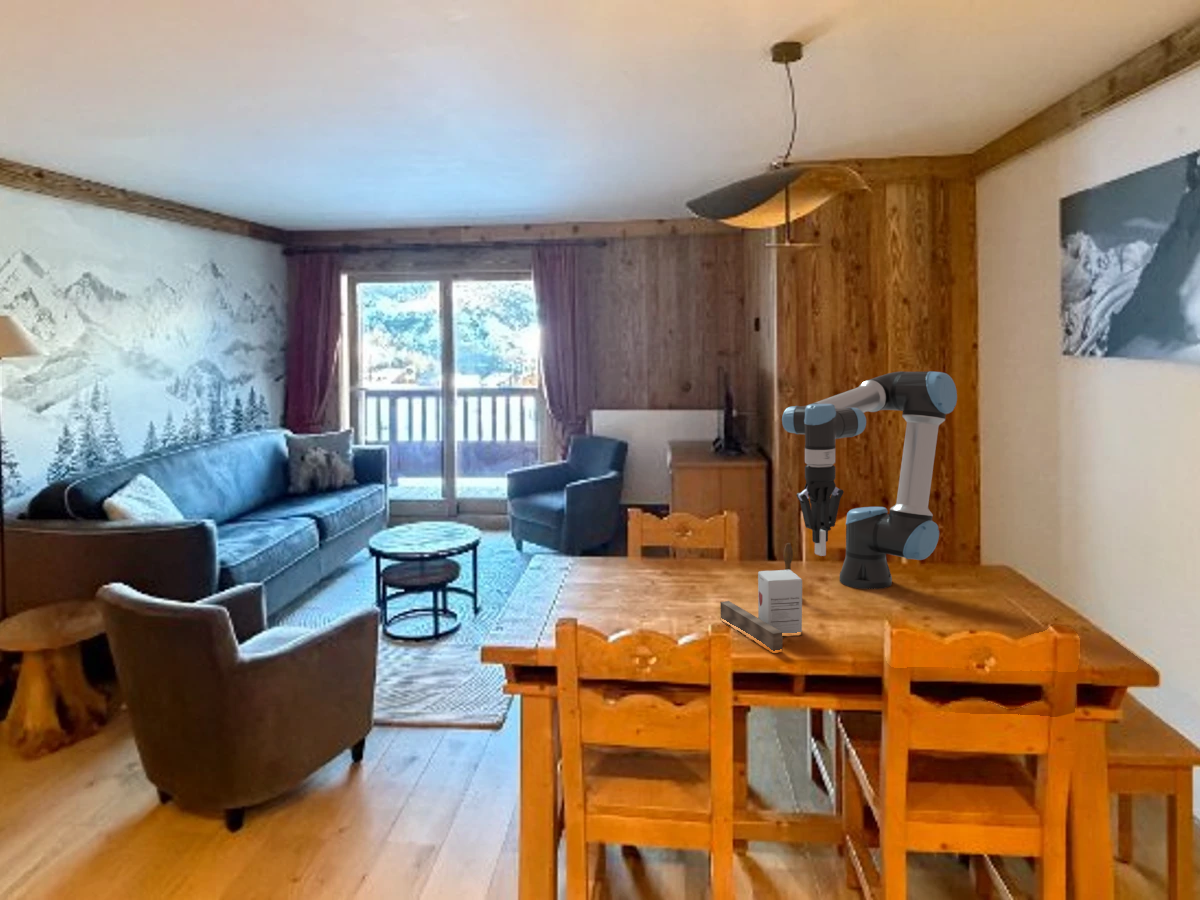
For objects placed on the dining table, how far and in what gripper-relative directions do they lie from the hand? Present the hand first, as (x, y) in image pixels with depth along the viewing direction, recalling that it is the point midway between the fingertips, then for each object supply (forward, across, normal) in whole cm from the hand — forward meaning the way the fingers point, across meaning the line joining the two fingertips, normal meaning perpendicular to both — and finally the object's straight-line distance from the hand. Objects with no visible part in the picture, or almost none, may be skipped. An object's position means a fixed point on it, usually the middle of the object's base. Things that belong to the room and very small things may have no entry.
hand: (820, 554), depth 207 cm
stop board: (+18, -21, 0) cm, 28 cm away
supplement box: (+19, -13, -1) cm, 23 cm away
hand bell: (+19, +5, +23) cm, 30 cm away
